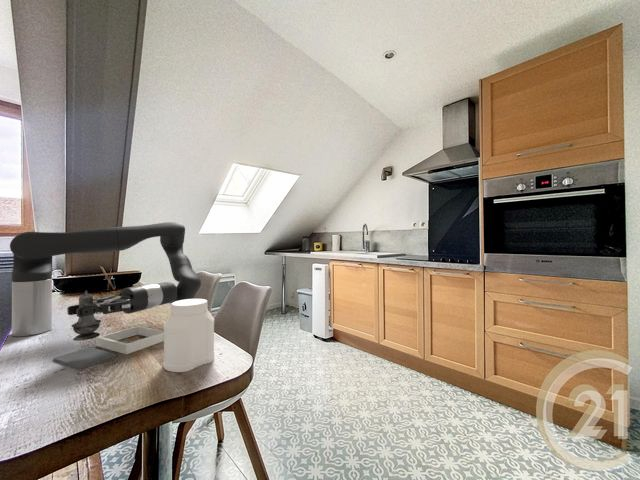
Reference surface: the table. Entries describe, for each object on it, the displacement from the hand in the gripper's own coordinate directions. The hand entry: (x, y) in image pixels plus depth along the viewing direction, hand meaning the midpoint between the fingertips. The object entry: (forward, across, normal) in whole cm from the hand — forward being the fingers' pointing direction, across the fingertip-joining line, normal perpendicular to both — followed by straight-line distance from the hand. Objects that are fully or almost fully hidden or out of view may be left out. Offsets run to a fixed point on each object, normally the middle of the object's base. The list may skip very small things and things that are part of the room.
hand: (73, 311), depth 69 cm
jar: (-12, +26, +13) cm, 32 cm away
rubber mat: (-2, 0, +13) cm, 13 cm away
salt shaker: (-3, 0, +7) cm, 8 cm away
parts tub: (-14, 0, +13) cm, 19 cm away
